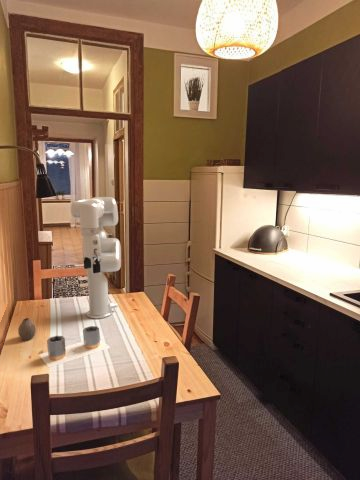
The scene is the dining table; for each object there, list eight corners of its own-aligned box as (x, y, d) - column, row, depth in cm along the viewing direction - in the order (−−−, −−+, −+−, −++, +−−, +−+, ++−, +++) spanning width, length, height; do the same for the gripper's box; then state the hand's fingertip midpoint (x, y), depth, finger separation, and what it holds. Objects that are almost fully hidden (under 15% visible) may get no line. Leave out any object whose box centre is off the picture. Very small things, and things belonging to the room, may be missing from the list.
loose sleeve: (95, 341, 144) (94, 325, 143) (101, 346, 139) (101, 329, 138) (82, 345, 141) (81, 328, 139) (88, 350, 136) (87, 333, 135)
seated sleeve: (62, 351, 136) (61, 334, 134) (67, 357, 131) (66, 339, 130) (47, 355, 132) (45, 338, 131) (51, 362, 128) (50, 344, 126)
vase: (39, 335, 153) (38, 317, 151) (28, 342, 146) (26, 323, 145) (27, 333, 155) (25, 315, 154) (15, 340, 149) (13, 321, 147)
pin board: (97, 340, 148) (96, 323, 147) (110, 351, 138) (109, 332, 137) (39, 358, 134) (37, 339, 132) (48, 371, 124) (47, 351, 123)
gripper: (106, 233, 144) (108, 273, 147) (90, 228, 158) (92, 265, 161) (89, 235, 140) (92, 276, 143) (74, 230, 154) (76, 268, 156)
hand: (92, 270), depth 152 cm, fingers open, 9 cm apart
